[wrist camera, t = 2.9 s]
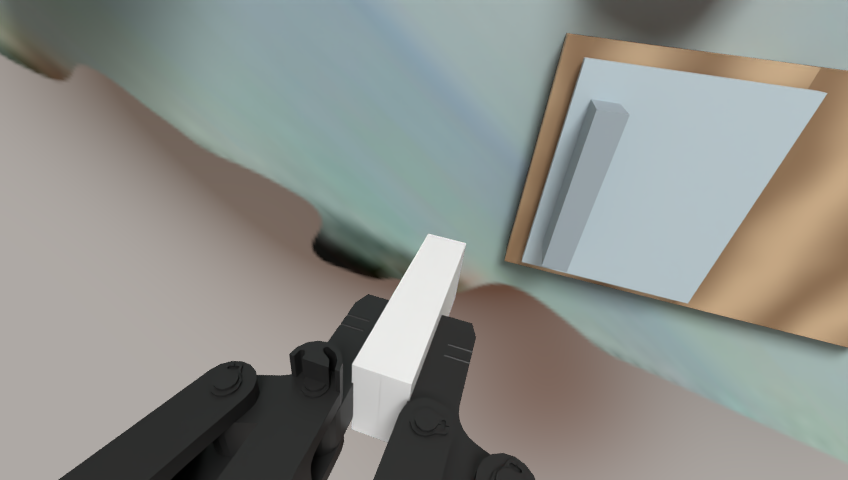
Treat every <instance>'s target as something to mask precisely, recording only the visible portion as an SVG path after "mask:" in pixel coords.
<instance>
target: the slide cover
mask: <svg viewBox="0 0 848 480" xmlns="http://www.w3.org/2000/svg"><path fill="white" fill-rule="evenodd" d="M826 95H827V93H825V92H821V91H816V90H809V89H802V88H795V87H788V86H781V85H774V84H768V83H761V82H754V81H747V80H740V79H733V78H726V77H719V76H712V75H705V74H698V73H691V72H684V71H677V70H670V69H663V68H656V67H649V66H642V65H635V64H629V63H622V62H615V61H608V60H601V59H594V58H587V57H584V59H583V62H582V65H581V69H580V72H579V75H578V78H577V82H576V85H575V88H574V91H573V95H572V98H571V101H570V104H569V107H568V111H567V114H566V117H565V120H564V124H563V127H562V130H561V133H560V136H559V140H558V143H557V146H556V149H555V153H554V156H553V159H552V162H551V166H550V169H549V172H548V175H547V178H546V182H545V185H544V188H543V191H542V195H541V198H540V201H539V204H538V208H537V211H536V214H535V217H534V220H533V224H532V227H531V230H530V233H529V237H528V240H527V243H526V246H525V249H524V253H523V256H522V262H524V263H528V264H532V265H536V266H540V267H544V268H548V269H552V270H556V271H560V272H564V273H568V274H572V275H576V276H580V277H584V278H588V279H592V280H596V281H600V282H604V283H608V284H612V285H616V286H620V287H624V288H628V289H632V290H636V291H640V292H644V293H648V294H652V295H656V296H660V297H664V298H667V299H671V300H675V301H679V302H683V303H687V304H688V302H689V301H690V299H691V298H692V296H693V295H694V293H695V292H696V290H697V289H698V287H699V286H700V284H701V283H702V281H703V280H704V278H705V277H706V275H707V274H708V272H709V271H710V269H711V268H712V266H713V265H714V263H715V262H716V260H717V259H718V257H719V256H720V254H721V253H722V251H723V250H724V248H725V247H726V245H727V244H728V242H729V241H730V239H731V238H732V236H733V235H734V233H735V232H736V230H737V229H738V227H739V226H740V224H741V223H742V221H743V220H744V218H745V217H746V215H747V214H748V212H749V211H750V209H751V208H752V206H753V205H754V203H755V202H756V200H757V199H758V197H759V196H760V194H761V193H762V191H763V190H764V188H765V187H766V185H767V184H768V182H769V181H770V179H771V178H772V176H773V175H774V173H775V172H776V170H777V169H778V167H779V166H780V164H781V163H782V161H783V160H784V158H785V156H786V155H787V153H788V152H789V150H790V149H791V147H792V146H793V144H794V143H795V141H796V140H797V138H798V137H799V135H800V134H801V132H802V131H803V129H804V128H805V126H806V125H807V123H808V122H809V120H810V119H811V117H812V116H813V114H814V113H815V111H816V110H817V108H818V107H819V105H820V104H821V102H822V101H823V99H824V98H825V96H826Z"/></svg>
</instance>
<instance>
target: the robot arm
mask: <svg viewBox="0 0 848 480" xmlns="http://www.w3.org/2000/svg"><path fill="white" fill-rule="evenodd" d="M465 247H466V243H463V242H459V241H455V240H451V239H447V238H443V237H439V236H435V235H431V234H428V235H427V237H426V239H425V240H424V242H423V244H422V246H421V247H420V249H419V251H418V252H417V254H416V256H415V258H414V259H413V261H412V263H411V264H410V266H409V268H408V269H407V271H406V273H405V275H404V276H403V278H402V280H401V281H400V283H399V285H398V287H397V288H396V290H395V292H394V293H393V295H392V297H391V299H390V300H386V299H383V298H379V297H376V296H373V295H369V294H368V295H366V296H365V297H363V298H362V299H360V300H359V301H357V302H356V303H355V304H354V306H353V307H352V308H351V310H350V311H349V313H348V315H347V316H346V317H345V318H344V320H343V322H342V323H341V325H340V326H339V327H338V328H337V330H336V331H335V333H334V334H333V336H332V337H331V339H330V340H329V341H328V342H322V341H314V342H308V343H305V344H303V345H301V346H298V347H297V348H296V349H295V350H293V351H292V352H291V353H290V363H291V371H292V374H291V375H281V376H275V375H274V376H273V375H256V371H255V370H254V368H253V367H252V366H251V365H250V364H247V363H245V362H241V361H239V362H238V361H231V362H227V363H223V364H220V365H218V366H216V367H215V368H213V369H211V370H209V371H208V372H206V373H205V374H204V375H202V376H201V377H199V378H198V379H197V380H196V381H194V382H193V383H191V384H190V385H188V386H187V387H186V388H184V389H183V390H182V391H180V392H179V393H177V394H176V395H175V396H173V397H172V398H171V399H169V400H168V401H167V402H165V403H164V404H162V405H161V406H160V407H158V408H157V409H155V410H154V411H153V412H151V413H150V414H148V415H147V416H146V417H144V418H143V419H142V420H140V421H139V422H137V423H136V424H135V425H133V426H132V427H131V428H129V429H128V430H126V431H125V432H124V433H122V434H121V435H120V436H118V437H117V438H116V439H114V440H113V441H111V442H110V443H109V444H107V445H106V446H104V447H103V448H102V449H100V450H99V451H97V452H96V453H95V454H93V455H92V456H91V457H89V458H88V459H87V460H85V461H84V462H82V463H81V464H80V465H78V466H77V467H75V468H74V469H73V470H71V471H70V472H69V473H67V474H66V475H64V476H63V477H62V478H60V479H59V480H327V479H328V477H329V475H330V473H331V471H332V469H333V467H334V465H335V463H336V460H337V459H338V456H339V454H340V452H341V450H342V447H343V443H344V434H345V432H346V430H347V427H348V426H349V424H350V422H351V420H352V430H355V431H357V432H360V433H363V434H366V435H368V436H371V437H374V438H376V439H379V440H382V441H384V442H387V443H388V444H387V447H386V449H385V452H384V454H383V457H382V459H381V462H380V464H379V467H378V469H377V472H376V475H375V477H374V479H373V480H535V478H534V475H533V474H532V473H531V471H530V470H529V469H528V467H527V466H526V465H525V464H524V463H522V462H521V461H520V460H518V459H517V458H516V457H513V456H511V455H507V454H504V453H500V454H492V455H490V454H489V453H487V452H486V451H485V450H483V449H482V448H481V447H479V446H478V445H477V444H475V443H474V442H473V441H472V440H471V439H470V438H469V437H468V436H467V434H466V433H465V431H464V430H463V428H462V425H461V423H460V420H459V405H460V401H461V397H462V392H463V389H464V384H465V380H466V376H467V372H468V367H469V364H470V359H471V355H472V351H473V347H474V343H475V339H476V336H475V332H474V329H473V325H472V323H468V322H465V321H461V320H458V319H455V318H451V317H449V314H450V311H451V308H452V305H453V302H454V299H455V296H456V291H457V286H458V281H459V276H460V271H461V266H462V261H463V257H464V252H465Z"/></svg>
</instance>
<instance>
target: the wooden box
mask: <svg viewBox="0 0 848 480" xmlns="http://www.w3.org/2000/svg"><path fill="white" fill-rule="evenodd" d="M584 57H587V58H594V59H601V60H608V61H615V62H622V63H629V64H635V65H642V66H649V67H656V68H663V69H670V70H677V71H684V72H691V73H698V74H705V75H712V76H719V77H726V78H733V79H740V80H747V81H754V82H761V83H768V84H774V85H781V86H788V87H795V88H802V89H809V90H816V91H821V92H825V93H827V95H826V96H825V98H824V99H823V101H822V102H821V104H820V105H819V107H818V108H817V110H816V111H815V113H814V114H813V116H812V117H811V119H810V120H809V122H808V123H807V125H806V126H805V128H804V129H803V131H802V132H801V134H800V135H799V137H798V138H797V140H796V141H795V143H794V144H793V146H792V147H791V149H790V150H789V152H788V153H787V155H786V156H785V158H784V160H783V161H782V163H781V164H780V166H779V167H778V169H777V170H776V172H775V173H774V175H773V176H772V178H771V179H770V181H769V182H768V184H767V185H766V187H765V188H764V190H763V191H762V193H761V194H760V196H759V197H758V199H757V200H756V202H755V203H754V205H753V206H752V208H751V209H750V211H749V212H748V214H747V215H746V217H745V218H744V220H743V221H742V223H741V224H740V226H739V227H738V229H737V230H736V232H735V233H734V235H733V236H732V238H731V239H730V241H729V242H728V244H727V245H726V247H725V248H724V250H723V251H722V253H721V254H720V256H719V257H718V259H717V260H716V262H715V263H714V265H713V266H712V268H711V269H710V271H709V272H708V274H707V275H706V277H705V278H704V280H703V281H702V283H701V284H700V286H699V287H698V289H697V290H696V292H695V293H694V295H693V296H692V298H691V299H690V301H689V302H688V304H687V303H683V302H679V301H675V300H671V299H667V298H664V297H660V296H656V295H652V294H648V293H644V292H640V291H636V290H632V289H628V288H624V287H620V286H616V285H612V284H608V283H604V282H600V281H596V280H592V279H588V278H584V277H580V276H576V275H572V274H568V273H564V272H560V271H556V270H552V269H548V268H544V267H540V266H536V265H532V264H528V263H524V262H522V256H523V253H524V249H525V246H526V243H527V240H528V237H529V233H530V230H531V227H532V224H533V220H534V217H535V214H536V211H537V208H538V204H539V201H540V198H541V195H542V191H543V188H544V185H545V182H546V178H547V175H548V172H549V169H550V166H551V162H552V159H553V156H554V153H555V149H556V146H557V143H558V140H559V136H560V133H561V130H562V127H563V124H564V120H565V117H566V114H567V111H568V107H569V104H570V101H571V98H572V95H573V91H574V88H575V85H576V82H577V78H578V75H579V72H580V69H581V65H582V62H583V59H584ZM505 261H507V262H511V263H515V264H519V265H523V266H527V267H531V268H535V269H539V270H543V271H547V272H551V273H555V274H559V275H563V276H567V277H571V278H575V279H579V280H583V281H587V282H591V283H594V284H598V285H602V286H606V287H610V288H614V289H618V290H622V291H626V292H630V293H634V294H638V295H642V296H646V297H650V298H654V299H658V300H662V301H666V302H670V303H674V304H678V305H682V306H686V307H690V308H694V309H697V310H701V311H705V312H709V313H713V314H717V315H721V316H725V317H729V318H733V319H737V320H741V321H745V322H749V323H753V324H757V325H761V326H765V327H769V328H773V329H777V330H781V331H785V332H789V333H793V334H797V335H800V336H804V337H808V338H812V339H816V340H820V341H824V342H828V343H832V344H836V345H840V346H844V347H848V71H846V70H839V69H831V68H824V67H816V66H809V65H801V64H794V63H786V62H779V61H771V60H764V59H756V58H749V57H741V56H734V55H726V54H719V53H711V52H704V51H696V50H689V49H681V48H674V47H666V46H659V45H651V44H644V43H636V42H629V41H621V40H614V39H606V38H599V37H591V36H584V35H576V34H569V33H566V37H565V41H564V44H563V48H562V51H561V55H560V59H559V62H558V66H557V69H556V73H555V77H554V80H553V84H552V87H551V91H550V95H549V98H548V102H547V105H546V109H545V113H544V116H543V120H542V123H541V127H540V131H539V134H538V138H537V141H536V145H535V149H534V152H533V156H532V159H531V163H530V167H529V170H528V174H527V177H526V181H525V185H524V188H523V192H522V195H521V199H520V203H519V206H518V210H517V213H516V217H515V221H514V224H513V228H512V231H511V235H510V239H509V242H508V246H507V250H506V255H505Z"/></svg>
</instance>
